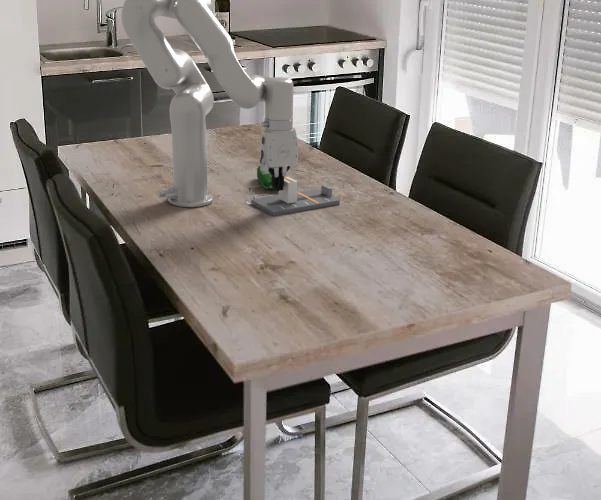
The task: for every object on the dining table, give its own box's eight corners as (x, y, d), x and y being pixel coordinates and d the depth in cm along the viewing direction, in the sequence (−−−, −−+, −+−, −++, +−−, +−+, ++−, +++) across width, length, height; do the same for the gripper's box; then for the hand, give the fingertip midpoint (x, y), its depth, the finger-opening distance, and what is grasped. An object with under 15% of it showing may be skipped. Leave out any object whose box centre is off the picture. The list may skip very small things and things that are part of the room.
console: (273, 216, 244) (273, 203, 242) (251, 203, 253) (251, 191, 252) (339, 204, 255) (340, 192, 254) (316, 192, 264) (316, 180, 263)
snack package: (263, 194, 262) (264, 177, 260) (254, 178, 276) (255, 161, 274) (287, 193, 264) (288, 176, 262) (277, 177, 278) (277, 161, 276)
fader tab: (287, 203, 249) (288, 182, 247) (278, 198, 253) (278, 177, 251) (296, 201, 251) (297, 180, 249) (287, 197, 255) (288, 176, 252)
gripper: (261, 130, 235) (261, 197, 242) (309, 124, 243) (307, 189, 250) (247, 124, 241) (247, 189, 248) (294, 118, 249) (293, 182, 255)
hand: (277, 189), depth 249 cm, fingers closed
